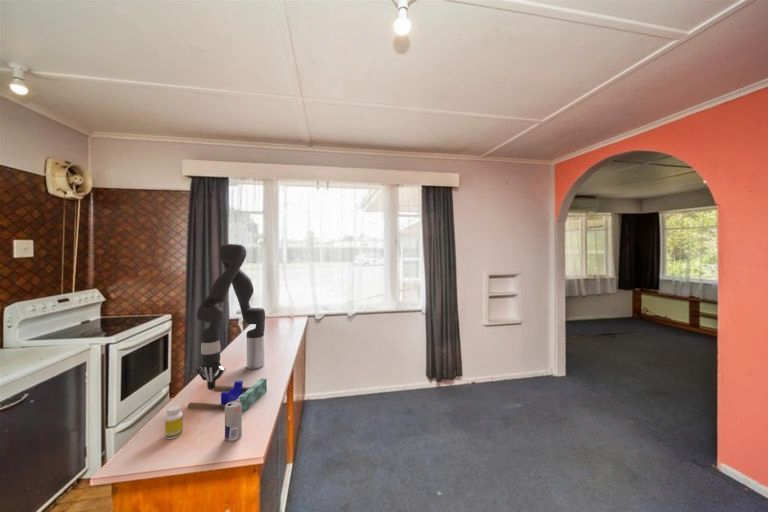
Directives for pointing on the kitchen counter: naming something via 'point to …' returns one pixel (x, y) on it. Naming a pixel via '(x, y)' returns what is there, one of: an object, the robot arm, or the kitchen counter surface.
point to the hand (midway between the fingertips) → (211, 389)
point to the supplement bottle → (173, 422)
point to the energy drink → (233, 421)
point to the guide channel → (246, 398)
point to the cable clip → (232, 393)
